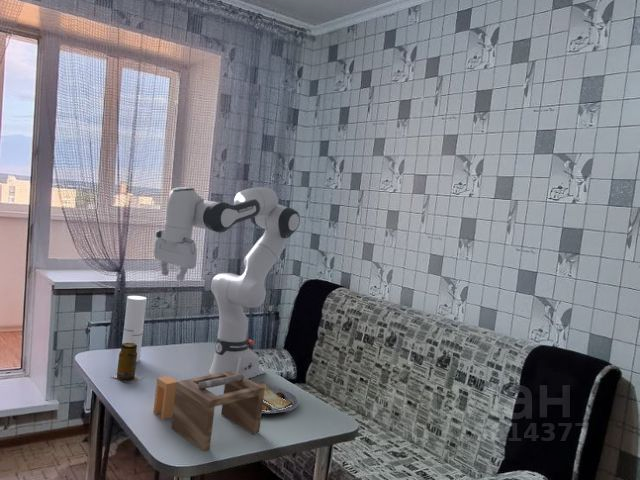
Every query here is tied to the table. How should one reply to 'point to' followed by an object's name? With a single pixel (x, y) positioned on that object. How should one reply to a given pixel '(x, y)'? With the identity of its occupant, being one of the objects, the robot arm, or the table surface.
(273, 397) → the food plate
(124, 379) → the condiment
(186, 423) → the wooden slider frame
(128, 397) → the table surface
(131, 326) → the cylindrical container
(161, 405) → the orange forked block
